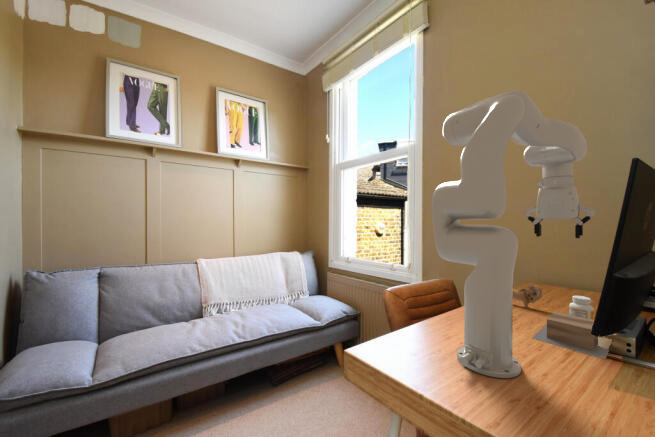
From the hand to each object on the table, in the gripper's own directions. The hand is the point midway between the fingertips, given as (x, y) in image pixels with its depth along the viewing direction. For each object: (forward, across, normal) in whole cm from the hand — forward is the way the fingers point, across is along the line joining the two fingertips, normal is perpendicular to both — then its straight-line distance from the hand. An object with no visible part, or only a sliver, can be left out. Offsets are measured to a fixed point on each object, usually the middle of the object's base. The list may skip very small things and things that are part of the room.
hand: (557, 237), depth 87 cm
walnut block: (+26, +6, -16) cm, 31 cm away
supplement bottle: (+27, +6, -4) cm, 28 cm away
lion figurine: (+27, -12, +6) cm, 30 cm away
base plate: (+27, +6, -16) cm, 31 cm away
